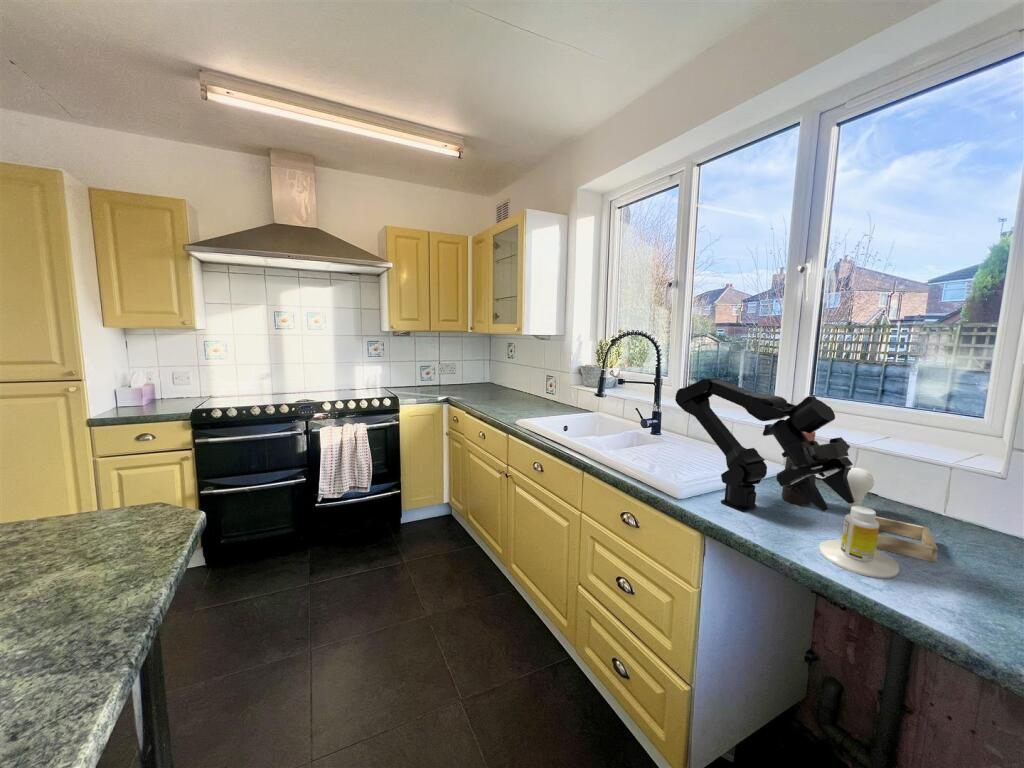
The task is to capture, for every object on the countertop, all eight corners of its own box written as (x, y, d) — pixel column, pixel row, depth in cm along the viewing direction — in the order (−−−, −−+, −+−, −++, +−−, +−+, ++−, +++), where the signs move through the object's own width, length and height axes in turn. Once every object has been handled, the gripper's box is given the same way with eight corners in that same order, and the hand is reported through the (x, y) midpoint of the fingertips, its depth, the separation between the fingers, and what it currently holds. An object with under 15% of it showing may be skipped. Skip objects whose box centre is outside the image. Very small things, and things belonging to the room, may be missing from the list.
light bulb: (872, 515, 109) (878, 474, 107) (839, 509, 113) (845, 469, 111) (867, 506, 115) (873, 467, 113) (836, 500, 118) (842, 462, 116)
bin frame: (864, 544, 95) (865, 532, 94) (860, 524, 104) (862, 513, 104) (935, 562, 88) (938, 549, 88) (925, 539, 97) (927, 527, 97)
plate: (807, 552, 91) (807, 549, 91) (836, 537, 98) (836, 534, 98) (882, 585, 80) (882, 581, 80) (909, 566, 87) (910, 562, 87)
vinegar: (810, 499, 119) (819, 429, 116) (811, 508, 113) (820, 435, 110) (781, 493, 122) (789, 426, 119) (781, 501, 117) (789, 431, 114)
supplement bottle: (881, 561, 87) (888, 515, 85) (857, 564, 86) (865, 516, 84) (855, 547, 92) (862, 503, 91) (833, 549, 91) (839, 504, 90)
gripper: (796, 429, 90) (847, 499, 82) (849, 421, 97) (900, 485, 89) (758, 453, 98) (800, 519, 90) (809, 444, 106) (852, 504, 98)
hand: (839, 506), depth 92 cm, fingers open, 9 cm apart
